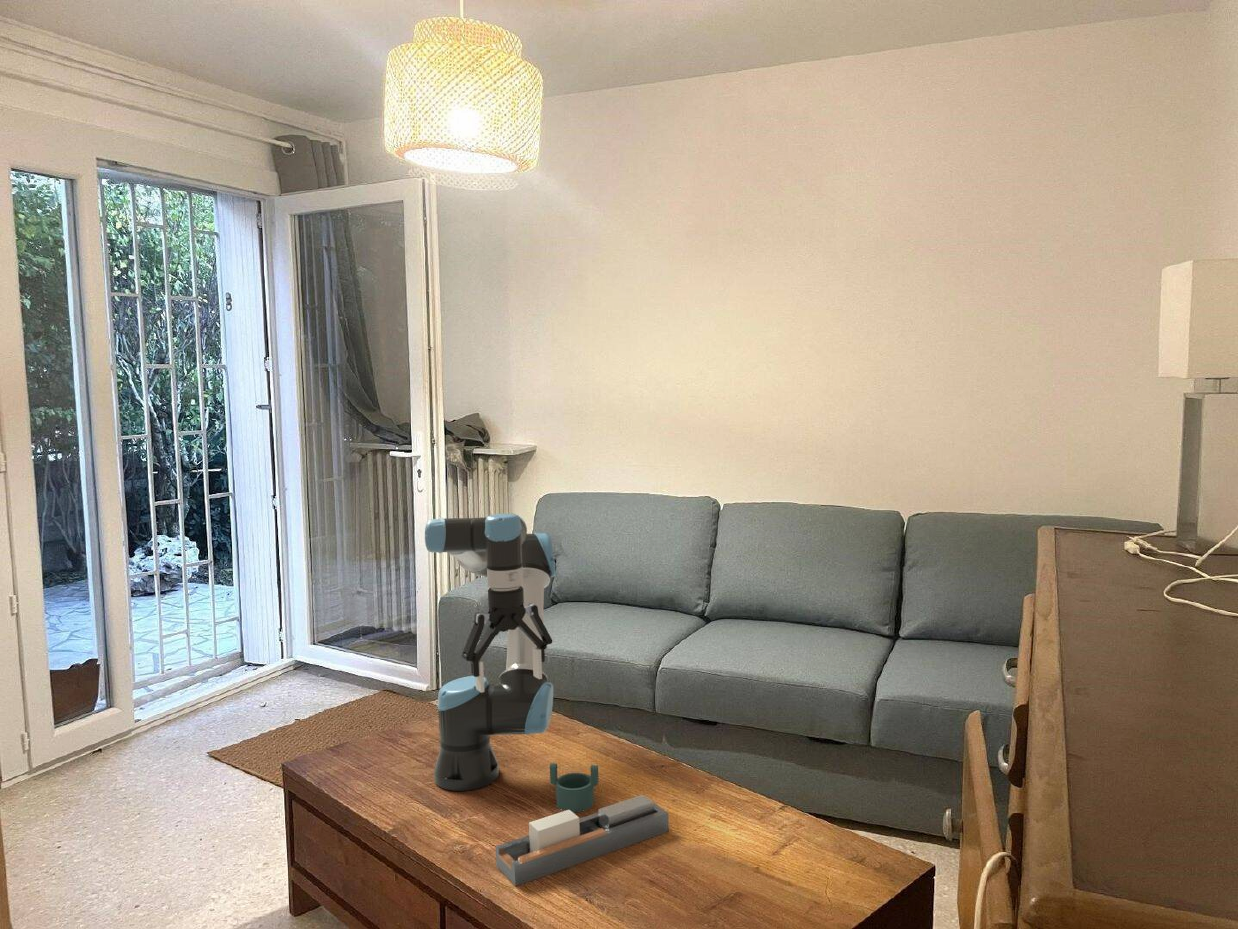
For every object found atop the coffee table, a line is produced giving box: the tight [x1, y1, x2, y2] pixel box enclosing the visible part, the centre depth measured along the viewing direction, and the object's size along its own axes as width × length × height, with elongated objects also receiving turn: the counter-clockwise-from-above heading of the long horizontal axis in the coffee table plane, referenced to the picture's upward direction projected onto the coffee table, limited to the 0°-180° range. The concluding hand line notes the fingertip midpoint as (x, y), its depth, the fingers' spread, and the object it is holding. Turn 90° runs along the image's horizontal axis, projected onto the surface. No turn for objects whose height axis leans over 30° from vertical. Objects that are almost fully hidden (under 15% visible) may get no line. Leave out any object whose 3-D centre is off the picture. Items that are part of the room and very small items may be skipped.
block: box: [528, 810, 580, 853], centre depth 176 cm, size 4×9×8 cm, turn 123°
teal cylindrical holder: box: [549, 762, 600, 813], centre depth 199 cm, size 9×9×9 cm
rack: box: [495, 794, 670, 887], centre depth 180 cm, size 8×35×6 cm, turn 122°
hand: (509, 684), depth 193 cm, fingers open, 13 cm apart
